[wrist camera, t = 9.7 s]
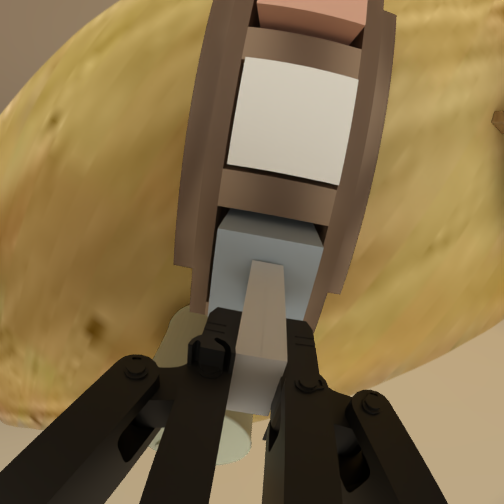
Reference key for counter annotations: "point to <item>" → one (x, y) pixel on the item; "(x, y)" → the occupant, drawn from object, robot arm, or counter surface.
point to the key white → (292, 120)
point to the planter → (499, 120)
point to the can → (175, 354)
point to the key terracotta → (315, 18)
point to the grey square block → (264, 258)
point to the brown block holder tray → (267, 182)
